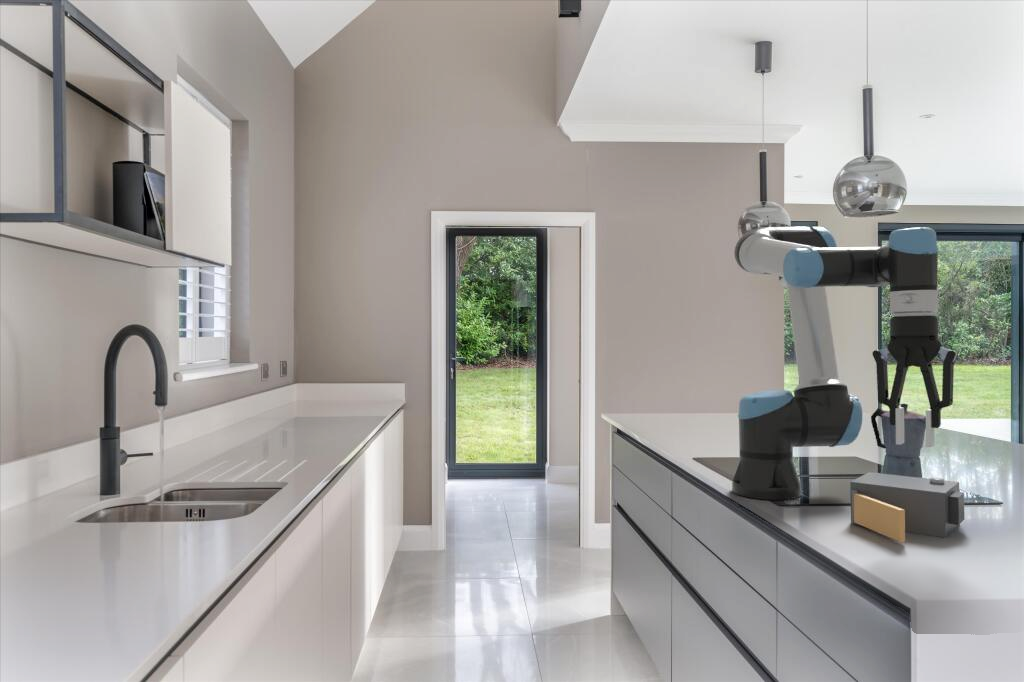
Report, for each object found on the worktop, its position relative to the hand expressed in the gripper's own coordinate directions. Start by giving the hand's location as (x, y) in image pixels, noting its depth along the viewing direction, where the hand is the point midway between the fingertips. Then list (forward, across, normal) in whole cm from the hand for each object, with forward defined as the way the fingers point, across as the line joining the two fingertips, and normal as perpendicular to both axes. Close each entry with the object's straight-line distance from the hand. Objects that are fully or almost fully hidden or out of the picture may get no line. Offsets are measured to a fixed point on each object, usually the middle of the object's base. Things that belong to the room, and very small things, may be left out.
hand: (915, 444), depth 129 cm
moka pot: (+17, -13, +42) cm, 47 cm away
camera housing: (+17, -4, +8) cm, 19 cm away
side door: (+16, -6, -2) cm, 18 cm away
